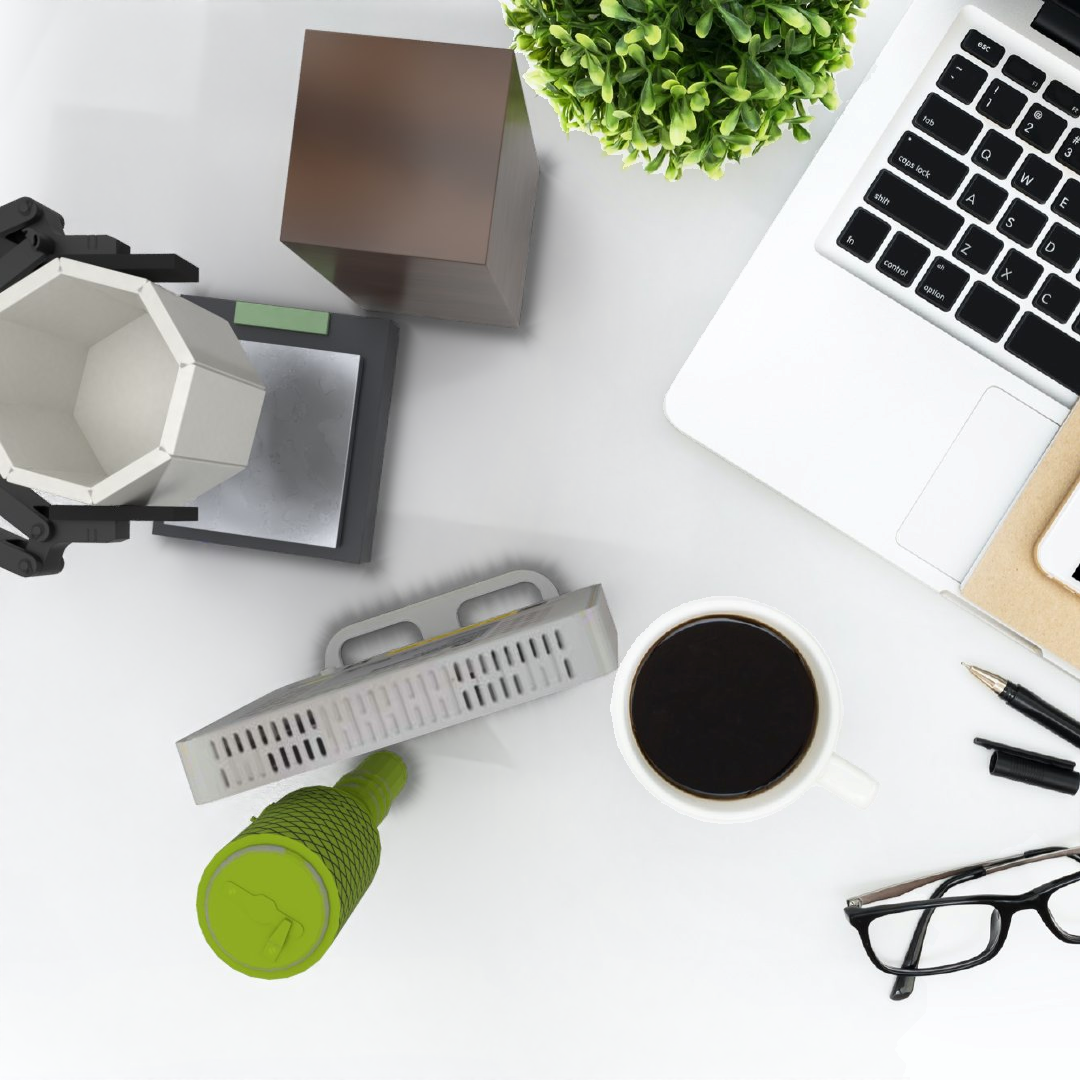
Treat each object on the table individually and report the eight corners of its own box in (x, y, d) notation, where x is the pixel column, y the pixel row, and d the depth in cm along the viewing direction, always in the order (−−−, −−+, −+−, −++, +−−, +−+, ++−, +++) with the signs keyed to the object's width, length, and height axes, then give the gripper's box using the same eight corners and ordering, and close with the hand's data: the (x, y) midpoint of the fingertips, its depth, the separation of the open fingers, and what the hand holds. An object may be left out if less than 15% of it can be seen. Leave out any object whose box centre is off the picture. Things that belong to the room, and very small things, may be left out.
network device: (312, 755, 72) (198, 848, 52) (277, 649, 72) (148, 701, 52) (626, 655, 70) (631, 712, 50) (589, 545, 70) (580, 558, 50)
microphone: (450, 756, 71) (363, 887, 47) (402, 840, 72) (291, 1014, 47) (360, 703, 72) (226, 805, 47) (313, 787, 72) (156, 932, 47)
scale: (198, 302, 72) (177, 292, 69) (400, 327, 71) (389, 318, 67) (170, 533, 73) (148, 534, 69) (370, 562, 72) (358, 564, 68)
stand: (383, 151, 71) (305, 28, 53) (540, 168, 70) (514, 48, 52) (363, 309, 71) (278, 241, 53) (518, 328, 70) (485, 265, 52)
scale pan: (192, 335, 69) (186, 333, 68) (364, 357, 68) (360, 354, 67) (169, 523, 69) (163, 524, 68) (339, 548, 68) (335, 548, 67)
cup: (98, 286, 53) (-5, 239, 44) (280, 333, 52) (212, 295, 44) (53, 472, 54) (-59, 463, 45) (233, 522, 53) (155, 523, 44)
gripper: (-155, 185, 53) (218, 179, 51) (-152, 610, 53) (217, 618, 52) (-282, 130, 45) (151, 121, 43) (-277, 626, 46) (150, 636, 44)
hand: (187, 391), depth 47 cm, fingers closed on cup, 12 cm apart
